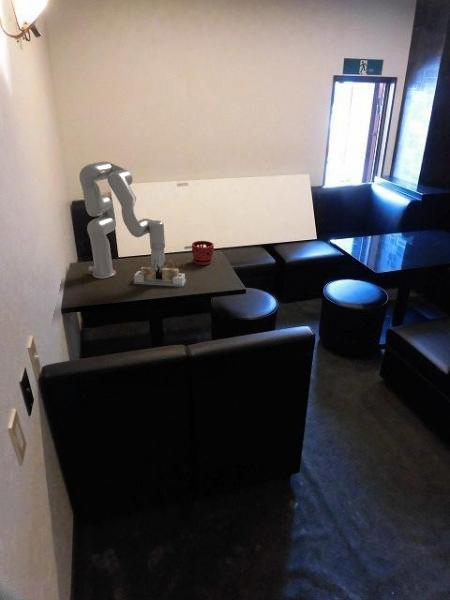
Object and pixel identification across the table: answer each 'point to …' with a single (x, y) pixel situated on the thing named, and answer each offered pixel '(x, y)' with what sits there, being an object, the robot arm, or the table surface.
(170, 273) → the slat
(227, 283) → the table surface
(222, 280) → the table surface
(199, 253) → the plant pot
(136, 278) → the endcap board
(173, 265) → the wooden fragment
